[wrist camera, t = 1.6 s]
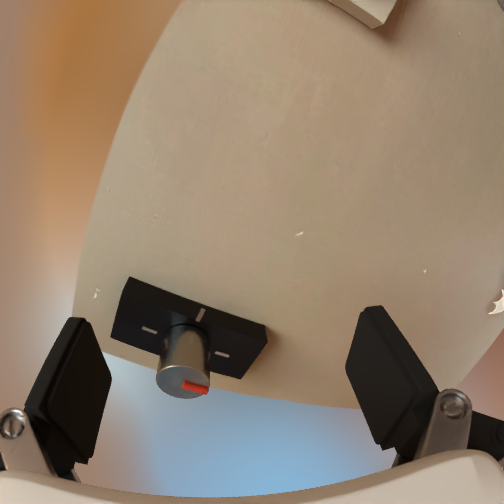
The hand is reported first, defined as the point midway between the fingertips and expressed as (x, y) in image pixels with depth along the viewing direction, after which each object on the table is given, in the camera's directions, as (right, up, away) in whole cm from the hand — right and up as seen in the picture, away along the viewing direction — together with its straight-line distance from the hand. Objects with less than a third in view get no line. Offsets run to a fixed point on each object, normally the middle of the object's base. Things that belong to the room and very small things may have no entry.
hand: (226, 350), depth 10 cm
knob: (-5, -5, +17) cm, 18 cm away
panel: (-5, -4, +19) cm, 20 cm away
